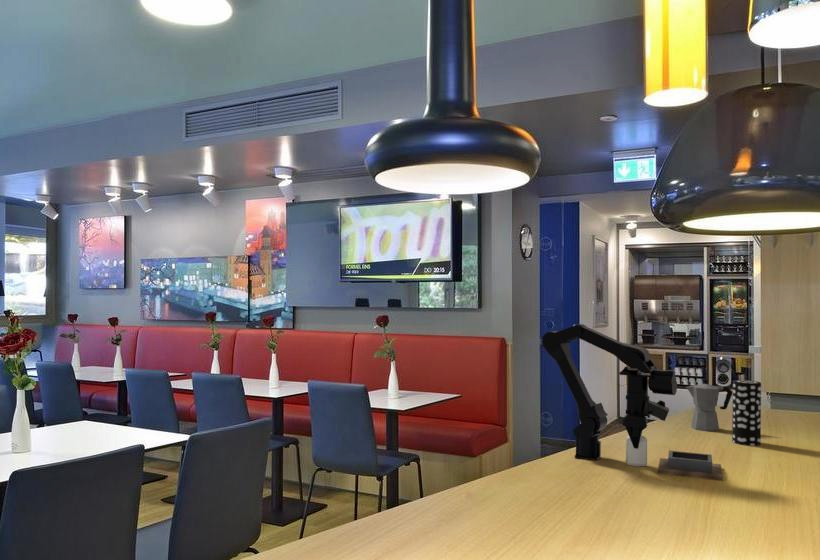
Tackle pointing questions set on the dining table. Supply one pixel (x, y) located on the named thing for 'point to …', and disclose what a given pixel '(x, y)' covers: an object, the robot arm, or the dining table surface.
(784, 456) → the dining table surface
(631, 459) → the eye dropper bottle
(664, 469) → the socket board
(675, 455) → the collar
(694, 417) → the coffeepot
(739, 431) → the white-spotted black cylinder
